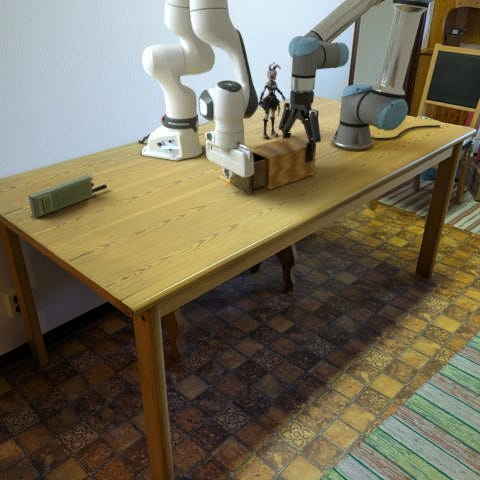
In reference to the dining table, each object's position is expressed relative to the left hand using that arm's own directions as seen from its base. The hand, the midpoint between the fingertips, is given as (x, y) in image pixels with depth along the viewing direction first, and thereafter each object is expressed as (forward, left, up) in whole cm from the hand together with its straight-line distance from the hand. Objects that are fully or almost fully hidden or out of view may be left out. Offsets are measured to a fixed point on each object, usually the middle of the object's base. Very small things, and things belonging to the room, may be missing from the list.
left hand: (229, 181), depth 157 cm
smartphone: (+14, +98, -4) cm, 99 cm away
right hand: (+19, +21, +2) cm, 28 cm away
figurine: (+4, +59, -4) cm, 59 cm away
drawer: (+7, +8, -3) cm, 11 cm away
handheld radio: (-44, -17, -4) cm, 48 cm away
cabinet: (+15, +16, -4) cm, 22 cm away
